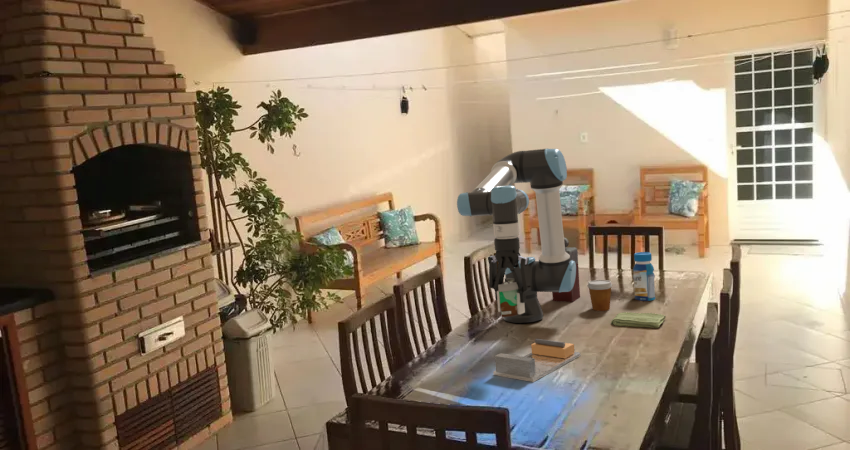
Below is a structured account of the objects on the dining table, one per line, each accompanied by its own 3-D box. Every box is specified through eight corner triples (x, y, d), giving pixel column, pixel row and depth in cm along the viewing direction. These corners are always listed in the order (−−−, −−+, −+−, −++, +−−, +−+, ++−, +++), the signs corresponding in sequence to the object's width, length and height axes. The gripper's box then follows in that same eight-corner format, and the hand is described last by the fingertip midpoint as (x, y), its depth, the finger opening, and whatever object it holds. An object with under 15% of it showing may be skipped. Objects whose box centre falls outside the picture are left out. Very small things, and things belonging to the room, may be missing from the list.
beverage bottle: (658, 302, 281) (656, 253, 279) (637, 304, 282) (635, 255, 280) (652, 298, 290) (650, 250, 288) (631, 299, 290) (629, 252, 288)
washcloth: (661, 329, 244) (660, 320, 243) (610, 327, 252) (609, 319, 252) (666, 320, 255) (666, 311, 255) (617, 318, 263) (617, 310, 263)
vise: (493, 374, 209) (492, 355, 208) (542, 350, 230) (541, 332, 229) (533, 382, 199) (532, 361, 199) (580, 355, 220) (579, 337, 220)
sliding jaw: (531, 353, 223) (530, 339, 222) (541, 348, 227) (540, 334, 227) (565, 358, 215) (564, 344, 214) (574, 353, 219) (573, 339, 219)
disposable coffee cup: (600, 316, 267) (598, 285, 266) (583, 312, 276) (582, 282, 275) (619, 311, 272) (617, 281, 270) (602, 307, 280) (600, 278, 279)
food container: (521, 317, 204) (518, 283, 204) (500, 318, 206) (497, 284, 205) (527, 308, 216) (524, 277, 215) (507, 309, 218) (504, 278, 217)
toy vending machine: (582, 300, 296) (578, 235, 293) (573, 306, 286) (569, 239, 283) (562, 299, 301) (558, 235, 298) (552, 305, 291) (548, 239, 288)
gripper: (473, 238, 213) (478, 311, 215) (526, 239, 200) (531, 318, 202) (488, 235, 219) (493, 306, 221) (540, 236, 205) (545, 312, 208)
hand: (511, 312), depth 211 cm, fingers closed on food container, 7 cm apart
